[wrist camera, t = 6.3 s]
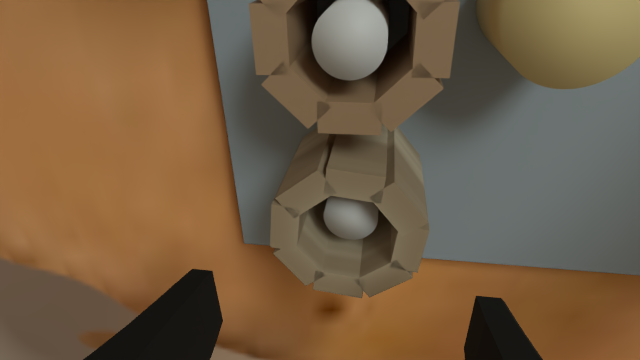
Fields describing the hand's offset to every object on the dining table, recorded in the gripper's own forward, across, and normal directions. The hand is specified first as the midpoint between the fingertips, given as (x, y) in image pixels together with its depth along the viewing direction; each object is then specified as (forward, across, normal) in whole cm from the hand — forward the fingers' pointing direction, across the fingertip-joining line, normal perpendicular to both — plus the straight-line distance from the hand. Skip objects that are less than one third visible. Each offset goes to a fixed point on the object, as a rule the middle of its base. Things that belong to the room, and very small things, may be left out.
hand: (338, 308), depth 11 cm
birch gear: (+8, 0, 0) cm, 8 cm away
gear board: (+10, -4, -3) cm, 11 cm away
